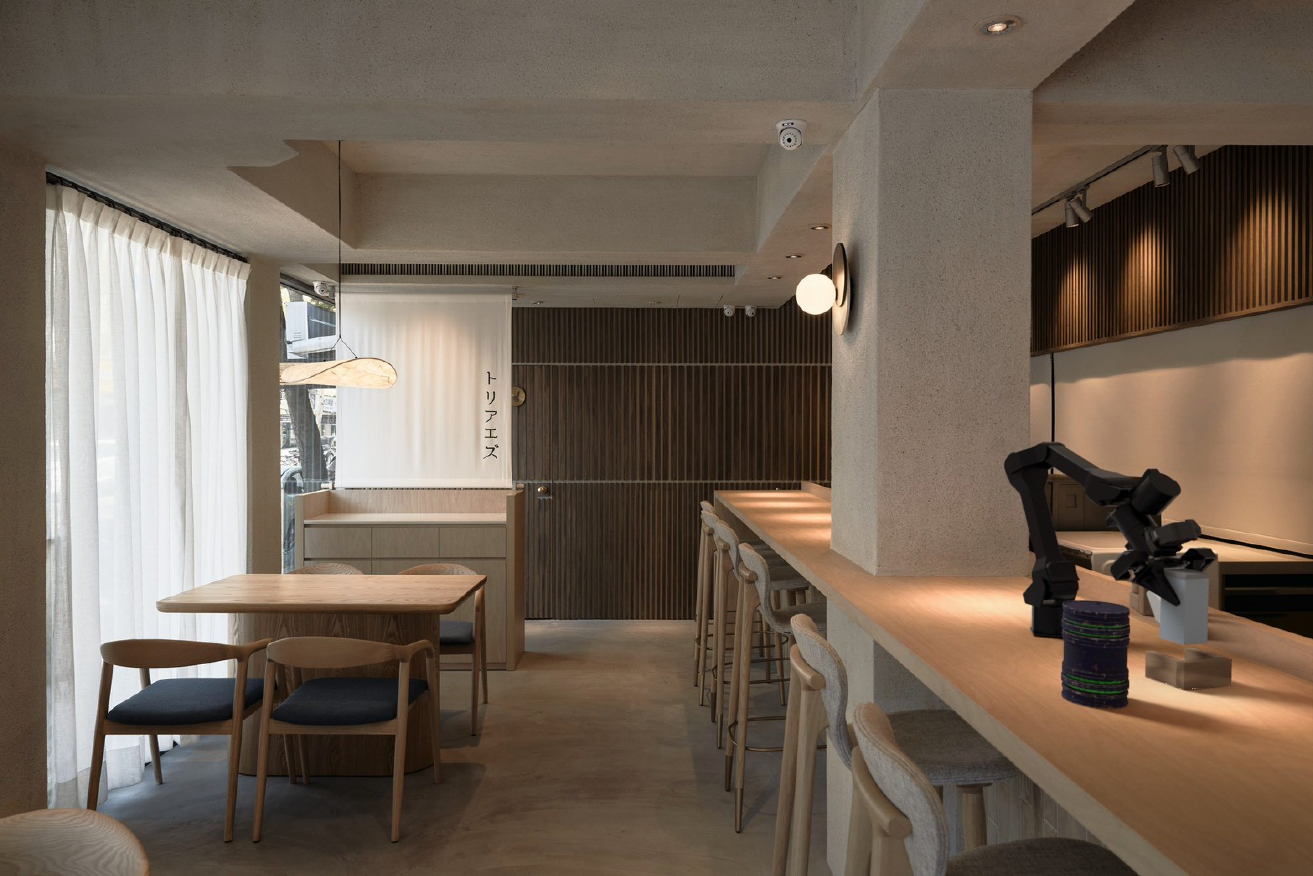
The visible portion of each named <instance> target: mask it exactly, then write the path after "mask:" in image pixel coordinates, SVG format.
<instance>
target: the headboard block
mask: <svg viewBox="0 0 1313 876" xmlns="http://www.w3.org/2000/svg"><path fill="white" fill-rule="evenodd" d="M1232 662H1233V660H1232V658H1229V657H1225V656H1222V655H1218V654H1216V653H1212V652H1208V651H1205V650H1201V649H1198V648H1194V647H1185V648H1184V659H1182V658H1178V657H1174V656H1171V655H1168V654H1165V653H1161V652H1159V651H1155V650H1145V663H1144V665H1145V666H1144V667H1145V668H1144V669H1145V671H1144V677H1146V678H1147V679H1148V678H1149V679H1150V678H1151V680H1153V679H1154V680H1153V681H1157V682H1159V683H1162V684H1165V683H1167V684H1169V685H1168V686H1170V685H1172V686H1171V687H1173V686H1174V687H1173V688H1177V689H1179V688H1181V689H1180V690H1182V689H1183V691H1187V690H1186V689H1191V690H1195V689H1194V688H1202V689H1209V688H1208V687H1213V688H1220V687H1221V688H1222V686H1223V687H1232V674H1233V673H1232V672H1233V671H1232V669H1233V668H1232V667H1233V665H1232V664H1233V663H1232ZM1167 684H1166V685H1167ZM1229 685H1230V686H1229ZM1192 688H1193V689H1192Z"/></svg>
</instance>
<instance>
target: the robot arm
mask: <svg viewBox="0 0 1313 876" xmlns="http://www.w3.org/2000/svg"><path fill="white" fill-rule="evenodd" d="M1003 468H1004V471H1005V474H1006V478H1007V480H1008V483H1009V484H1010V485H1011V486H1012V487H1013V488H1014V489H1015V491H1017V493H1018V494H1019V496H1020V499H1021V503H1022V507H1023V511H1024V516H1025V520H1026V524H1027V527H1028V533H1029V535H1030V536H1029V537H1030V540H1031V544H1032V545H1031V546H1032V549H1033V551H1034V557H1035V561H1034V564H1033V568H1032V570H1031V580H1032V582H1031V583H1030V584H1029V586H1027V588H1026V589H1025V590H1024V592H1023V593H1022V597H1023V601H1024V604H1025V605H1028V606H1031V626H1030V627H1029V630H1030V631H1031V633H1032V636H1035V637H1045V636H1049V637H1050V638H1060V637H1062V628H1063V627H1062V619H1063V612H1064V609H1063V603H1064V602H1066V601H1073V600H1076V597H1077V595H1078V592H1079V590H1080V585H1079V581H1081V579H1080V577H1079V576H1078V573H1077V567H1076V563H1075V562H1074V561H1073V560H1067V559H1066V558H1065V557H1064V556H1063V555H1062V552H1061V549H1060V544H1059V541H1058V537H1057V533H1056V529H1055V526H1054V521H1053V517H1052V513H1051V511H1050V506H1049V502H1048V499H1047V494H1046V491H1045V490H1046V486H1047V484H1048V480H1049V470H1051V469H1054V468H1055V470H1057V471H1059V472H1060V473H1062V474H1064V475H1065V476H1067V477H1068V478H1069V479H1071V480H1073V481H1074V482H1075V483H1077V484H1078V485H1080V486H1081V487H1082V488H1083V492H1084V495H1085V496H1086V497H1087V498H1088V499H1089V500H1090V501H1091V502H1093V504H1095V505H1096V506H1098V507H1100V508H1101V507H1116V508H1115V509H1114V510H1113V511H1112V512H1107V514H1106V519H1105V521H1104V526H1105V527H1106V528H1111V527H1112V528H1114V527H1116V528H1118V530H1119V531H1120V532H1121V534H1122V536H1123V537H1124V538H1125V540H1126V544H1124V548H1125V550H1124V551H1123V552H1121V554H1120V555H1119V556H1118V557H1117V558H1116V559H1114V561H1113V562H1112V563H1111V564H1110V574H1111V575H1112V577H1113V579H1114V580H1115V582H1119V581H1120V582H1122V581H1128V580H1129V579H1130V578H1131V577H1132V573H1131V572H1130V571H1132V570H1133V572H1134V575H1135V577H1134V578H1133V579H1132V578H1131V581H1130V582H1131V584H1132V583H1133V584H1138V585H1140V586H1142V587H1143V588H1145V589H1147V590H1149V591H1151V592H1153V593H1154V594H1156V595H1158V596H1159V597H1161V598H1162V599H1164V600H1166V601H1167V602H1169V603H1171V604H1172V605H1174V606H1178V605H1180V600H1179V598H1178V596H1177V594H1176V593H1175V591H1174V589H1173V588H1172V586H1171V585H1170V583H1169V581H1168V580H1167V578H1166V576H1165V574H1164V569H1182V568H1185V569H1190V570H1195V571H1200V572H1204V571H1206V570H1207V569H1208V568H1209V567H1210V566H1211V565H1212V564H1213V563H1215V561H1216V560H1218V556H1217V554H1216V553H1215V552H1214V551H1213V550H1212V548H1210V547H1189V548H1188V549H1187V550H1186V551H1185V552H1184V553H1183V554H1182V555H1178V554H1177V553H1180V552H1181V551H1182V550H1183V549H1184V546H1183V545H1184V544H1187V543H1189V542H1192V541H1193V542H1196V541H1197V540H1199V538H1198V537H1200V536H1202V533H1203V532H1202V528H1201V526H1200V525H1199V524H1198V523H1197V521H1196V520H1195V519H1193V518H1192V519H1191V518H1189V519H1184V521H1175V522H1170V523H1168V524H1164V525H1161V526H1159V525H1158V524H1157V523H1156V521H1155V520H1154V519H1153V517H1152V516H1155V517H1156V516H1160V515H1161V514H1162V513H1163V512H1164V511H1166V509H1167V508H1168V507H1169V506H1170V505H1171V504H1172V503H1174V501H1175V500H1176V499H1177V498H1178V497H1179V495H1180V494H1181V493H1182V488H1181V486H1180V484H1179V483H1178V481H1177V480H1175V479H1173V478H1172V477H1171V476H1169V475H1167V474H1165V473H1162V472H1160V471H1159V469H1158V468H1147V469H1146V470H1145V471H1144V472H1143V474H1142V476H1141V477H1140V478H1139V479H1138V481H1136V482H1135V480H1134V479H1133V478H1132V477H1130V476H1127V475H1125V474H1122V473H1120V472H1114V471H1111V470H1108V469H1107V470H1106V469H1103V468H1100V467H1099V466H1097V465H1095V464H1094V463H1092V462H1091V461H1089V460H1088V459H1086V458H1084V457H1083V456H1081V455H1080V454H1077V453H1076V452H1074V451H1073V450H1071V449H1070V448H1068V447H1066V445H1065V444H1064V443H1062V442H1060V441H1042V442H1040V443H1038V444H1036V445H1034V446H1032V447H1028V448H1025V449H1021V450H1019V451H1015V452H1014V451H1013V452H1010V453H1009V454H1008V456H1007V457H1006V458H1005V460H1004V463H1003Z"/></svg>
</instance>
